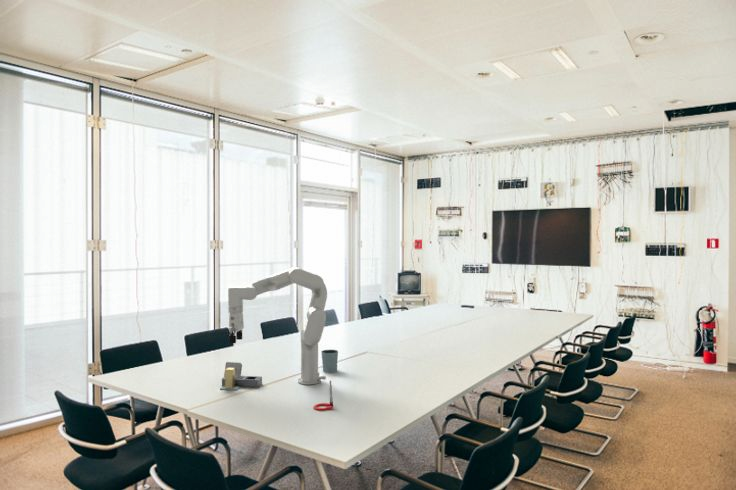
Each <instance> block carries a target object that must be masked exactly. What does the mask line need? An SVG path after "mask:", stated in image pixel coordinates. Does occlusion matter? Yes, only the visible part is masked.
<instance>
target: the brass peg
mask: <svg viewBox="0 0 736 490" xmlns="http://www.w3.org/2000/svg"><path fill="white" fill-rule="evenodd" d="M224 373H225V388H227V389H233V388H234V387H235V368H227V369H224Z"/></svg>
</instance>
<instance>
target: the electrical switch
mask: <svg viewBox="0 0 736 490" xmlns="http://www.w3.org/2000/svg"><path fill="white" fill-rule="evenodd" d="M224 366H225V367H224V368H225V369H227V368H235V376H242V369H243V368H242V367H243V364H242V363H241V362H236V361H235V362H234V361H226V362H225V365H224ZM225 369H224V370H225ZM223 373H224V374H223V378H224V377H225V372H223Z"/></svg>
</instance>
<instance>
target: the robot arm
mask: <svg viewBox="0 0 736 490" xmlns="http://www.w3.org/2000/svg"><path fill="white" fill-rule="evenodd" d="M294 284H296V285H298V286H300V287H303V288H306V289H308V290H311V297H310V298H311V299H310V303H309V306H308V309H307V313H306V319H307V321H306V325H304V326H303V327H302V328H301V331H300V378H299V379H298V380H297V382H298V383H299V384H301V385H311V386H312V385H317V384H319V383H321V382H322V380H327V379H326V378H327V377H326V375H323V374H320V372H319V343H320V341H321V339H322V336H323V332H324V329H325V325H326V322H327V321H326V320H327V315H326V312H325V308H326V304H327V303H326V302H327V299H328V289H327V285H326V284H325V282H324V279H323V278H322V277H321V276H320V275H319V274H316V273H315V274H314V273H312V272H309V271H307V270H304V269H302V268H299V267H296V266H293V267H291V268H288V269H285V270H282V271H280V272H278V273H275V274H272V275H270V276H267V277H266V278H265V277H264V278H262V279H260V280H257V281H254V282H252V283H249V284H247V285H245V286H243V287H242V286H234V285H233V286H229V287H228V290H227V292H228V294H227V297H228V299H227V301H228V302H227V303H228V304H227V305H228V307H227V308H228V313H229V317H228V318H229V320H228V326H229V327H228V333H229V344H236V343H237V340H243V330H244V328H245V326H244V314H243V312H244V305H243V304H244V300H245V301H253V300H254V299H256V298H257V297H258V296H260V295H261V294H264V293H268V292H273V291H278V290H281V289H283V288H286V287H288V286H291V285H294Z"/></svg>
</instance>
